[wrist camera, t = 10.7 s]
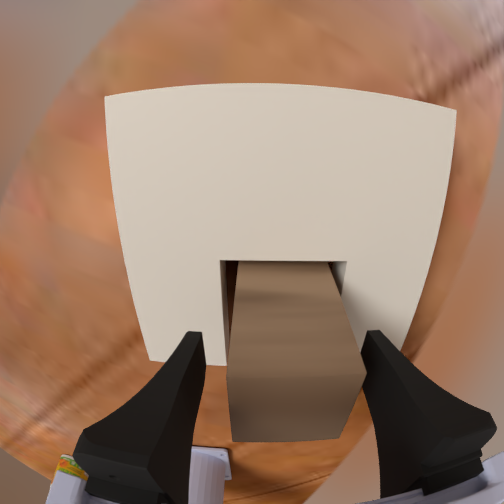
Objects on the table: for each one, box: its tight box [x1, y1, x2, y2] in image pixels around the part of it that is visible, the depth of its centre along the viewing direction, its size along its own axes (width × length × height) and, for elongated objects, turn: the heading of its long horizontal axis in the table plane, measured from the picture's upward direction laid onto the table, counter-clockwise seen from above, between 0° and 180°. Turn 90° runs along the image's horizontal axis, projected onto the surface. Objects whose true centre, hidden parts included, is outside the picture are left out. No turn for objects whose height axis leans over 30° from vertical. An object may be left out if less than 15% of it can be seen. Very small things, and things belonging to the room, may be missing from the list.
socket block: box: [105, 83, 457, 366], centre depth 15 cm, size 15×16×2 cm
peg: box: [226, 260, 367, 442], centre depth 14 cm, size 4×4×9 cm
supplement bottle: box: [50, 454, 89, 489], centre depth 31 cm, size 5×5×10 cm
